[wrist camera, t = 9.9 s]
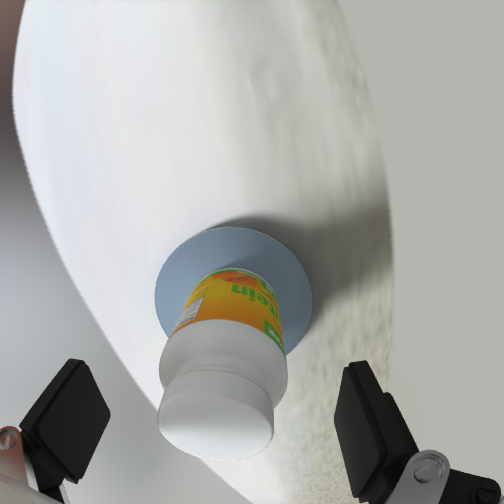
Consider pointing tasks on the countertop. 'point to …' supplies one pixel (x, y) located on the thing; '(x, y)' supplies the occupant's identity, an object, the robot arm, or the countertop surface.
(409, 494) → the robot arm
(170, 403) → the supplement bottle
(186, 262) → the pale blue round plate
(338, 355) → the countertop surface
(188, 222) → the countertop surface
